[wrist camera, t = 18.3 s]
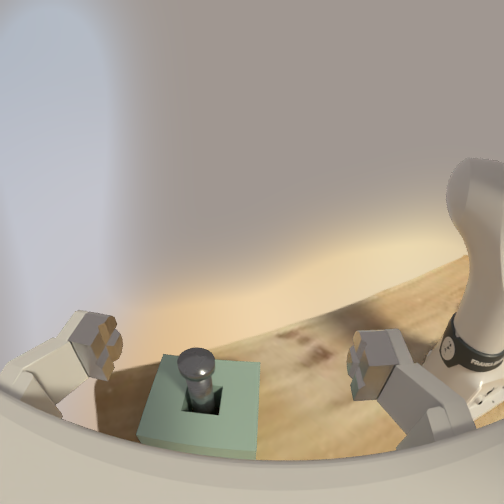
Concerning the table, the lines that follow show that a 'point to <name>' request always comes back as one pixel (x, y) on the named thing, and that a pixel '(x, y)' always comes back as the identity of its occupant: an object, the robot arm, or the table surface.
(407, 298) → the table surface
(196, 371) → the pin
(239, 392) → the socket block
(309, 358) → the table surface
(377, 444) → the table surface
